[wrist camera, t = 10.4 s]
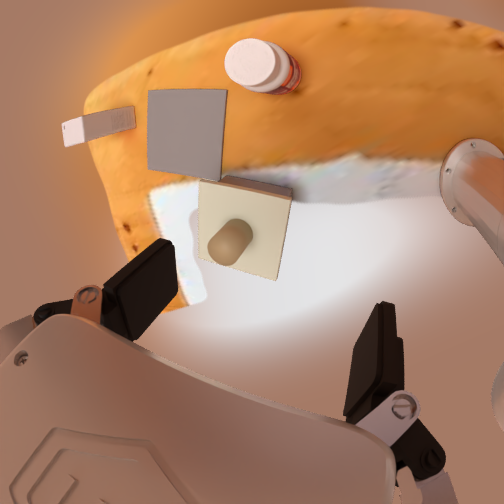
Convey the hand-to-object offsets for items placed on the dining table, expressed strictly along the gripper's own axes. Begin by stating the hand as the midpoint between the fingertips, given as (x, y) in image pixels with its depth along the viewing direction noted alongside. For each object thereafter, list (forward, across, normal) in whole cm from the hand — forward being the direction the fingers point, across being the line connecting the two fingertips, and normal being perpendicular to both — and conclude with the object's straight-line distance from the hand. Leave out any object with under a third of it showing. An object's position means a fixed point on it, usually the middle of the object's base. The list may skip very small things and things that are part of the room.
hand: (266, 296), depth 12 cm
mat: (+28, +22, -1) cm, 36 cm away
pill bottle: (+28, +8, -11) cm, 31 cm away
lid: (+22, +9, +10) cm, 26 cm away
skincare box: (+28, +35, -3) cm, 45 cm away
